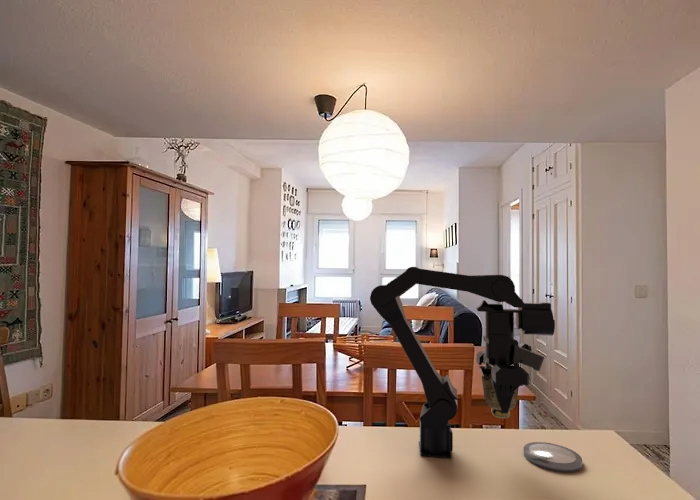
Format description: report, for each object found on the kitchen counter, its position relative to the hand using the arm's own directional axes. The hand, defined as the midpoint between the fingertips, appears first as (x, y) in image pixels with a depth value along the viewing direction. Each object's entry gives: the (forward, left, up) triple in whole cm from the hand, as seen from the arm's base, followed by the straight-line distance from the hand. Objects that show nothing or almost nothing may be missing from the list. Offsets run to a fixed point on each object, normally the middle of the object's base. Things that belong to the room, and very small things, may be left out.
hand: (500, 407), depth 81 cm
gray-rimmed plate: (+11, +2, -11) cm, 16 cm away
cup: (0, 0, -2) cm, 2 cm away
